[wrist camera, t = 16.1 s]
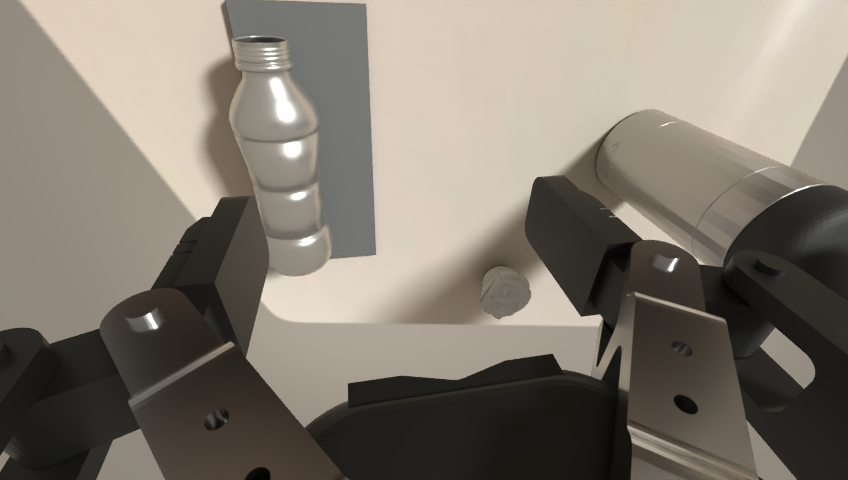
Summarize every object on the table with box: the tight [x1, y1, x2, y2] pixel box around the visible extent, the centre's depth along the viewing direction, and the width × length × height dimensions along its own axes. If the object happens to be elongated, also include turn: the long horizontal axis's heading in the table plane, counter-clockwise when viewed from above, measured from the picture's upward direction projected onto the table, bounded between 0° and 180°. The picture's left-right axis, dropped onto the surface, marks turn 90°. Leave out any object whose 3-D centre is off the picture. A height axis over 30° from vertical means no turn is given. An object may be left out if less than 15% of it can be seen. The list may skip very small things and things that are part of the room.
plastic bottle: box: [229, 36, 333, 276], centre depth 32 cm, size 6×7×20 cm
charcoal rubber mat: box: [225, 0, 376, 259], centre depth 35 cm, size 10×24×1 cm, turn 178°
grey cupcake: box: [480, 266, 531, 319], centre depth 46 cm, size 6×7×7 cm
